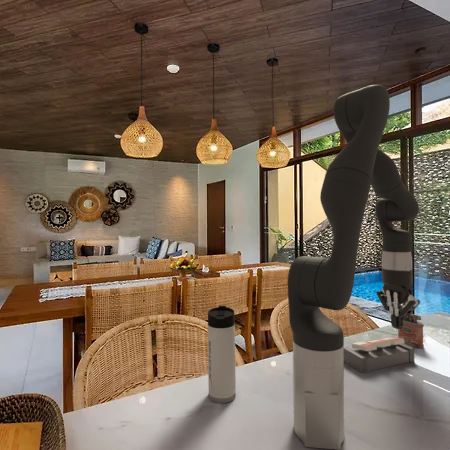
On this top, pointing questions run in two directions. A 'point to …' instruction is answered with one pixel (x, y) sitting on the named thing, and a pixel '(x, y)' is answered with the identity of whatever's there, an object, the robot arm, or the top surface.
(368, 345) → the rocker near
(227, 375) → the travel mug
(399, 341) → the rocker far
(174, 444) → the top surface
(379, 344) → the rocker middle
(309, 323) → the robot arm
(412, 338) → the lighter
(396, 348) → the dark grey slotted base
